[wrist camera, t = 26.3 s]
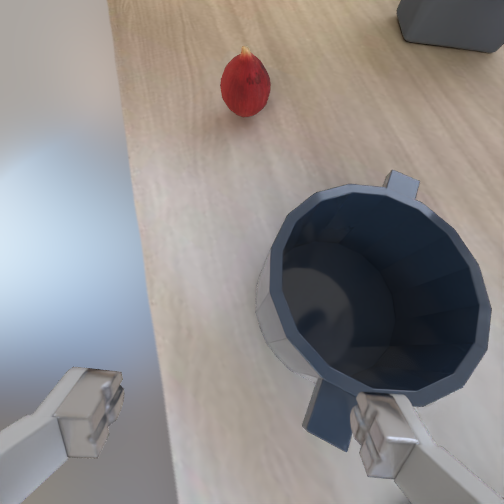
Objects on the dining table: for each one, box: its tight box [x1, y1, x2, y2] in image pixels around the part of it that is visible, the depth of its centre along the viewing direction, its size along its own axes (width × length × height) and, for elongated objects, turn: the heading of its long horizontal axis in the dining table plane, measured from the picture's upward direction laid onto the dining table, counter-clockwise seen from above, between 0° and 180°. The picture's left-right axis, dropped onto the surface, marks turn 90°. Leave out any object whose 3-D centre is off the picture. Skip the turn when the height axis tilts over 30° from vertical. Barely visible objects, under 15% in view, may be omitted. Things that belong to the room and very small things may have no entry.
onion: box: [220, 46, 270, 117], centre depth 30 cm, size 6×6×8 cm
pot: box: [256, 170, 492, 452], centre depth 21 cm, size 14×20×10 cm
